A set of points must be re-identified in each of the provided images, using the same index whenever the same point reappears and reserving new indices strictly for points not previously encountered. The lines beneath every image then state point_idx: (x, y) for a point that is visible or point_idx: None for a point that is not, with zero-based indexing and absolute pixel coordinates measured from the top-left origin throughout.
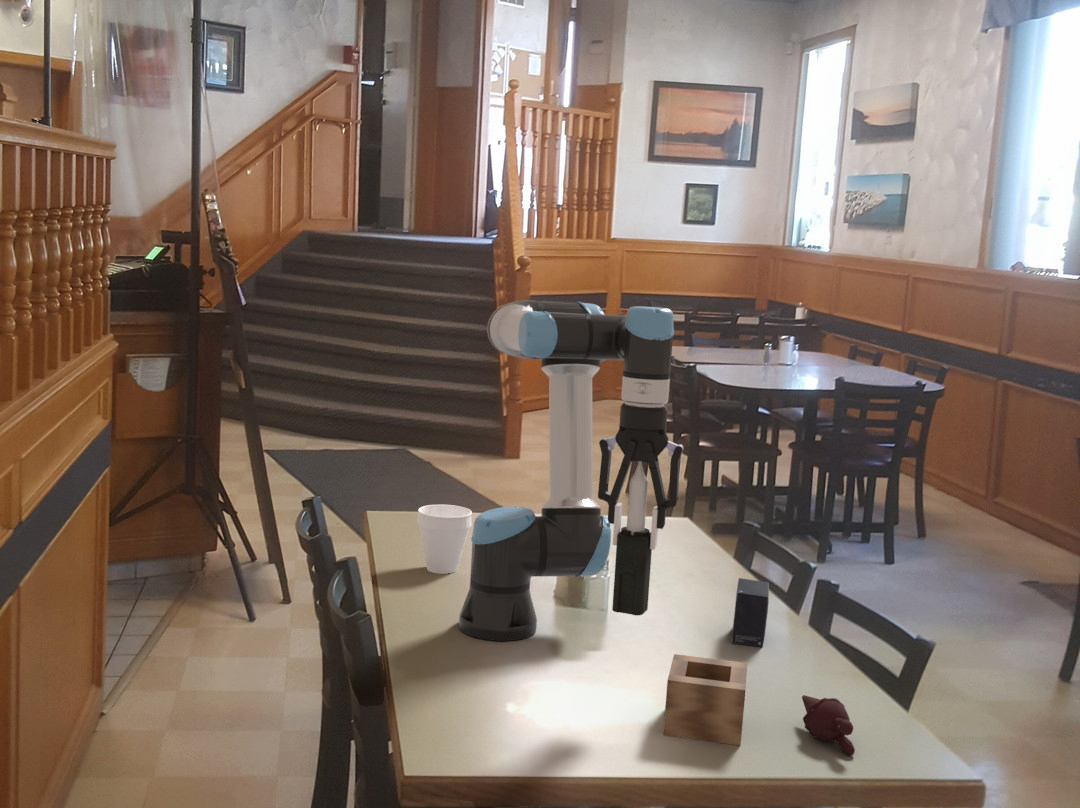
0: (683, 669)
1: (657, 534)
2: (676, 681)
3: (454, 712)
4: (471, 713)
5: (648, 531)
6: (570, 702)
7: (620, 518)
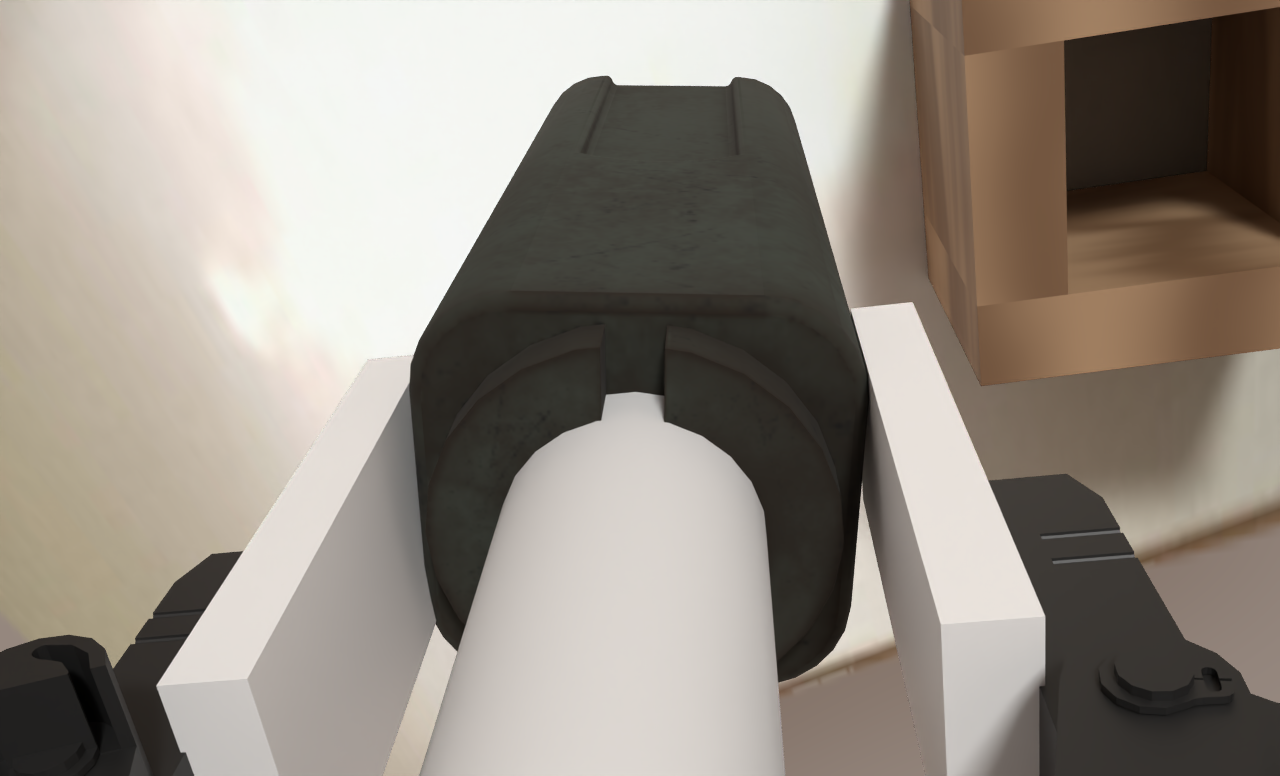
0: (1049, 197)
1: (939, 368)
2: (1029, 378)
3: (83, 452)
4: (142, 432)
5: (833, 545)
6: (440, 131)
7: (354, 598)
